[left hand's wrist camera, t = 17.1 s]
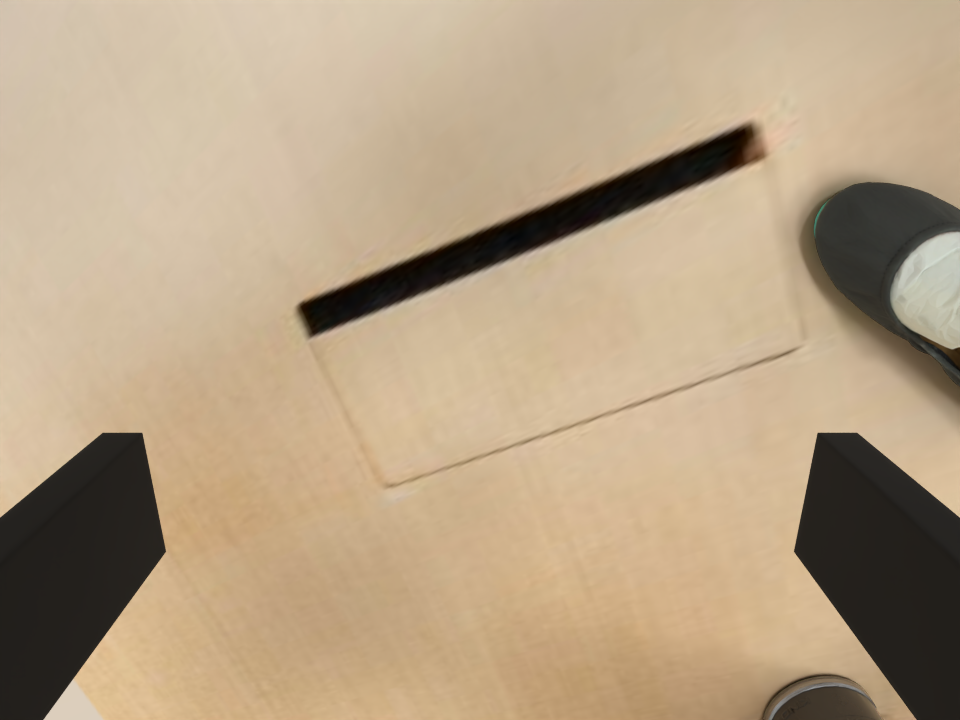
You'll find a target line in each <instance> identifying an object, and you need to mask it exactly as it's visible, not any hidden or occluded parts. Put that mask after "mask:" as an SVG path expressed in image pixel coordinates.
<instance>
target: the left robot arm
mask: <svg viewBox="0 0 960 720" xmlns="http://www.w3.org/2000/svg"><path fill="white" fill-rule="evenodd" d="M165 552H166V549H165V544H164V539H163V534H162V529H161V524H160V519H159V514H158V509H157V504H156V499H155V494H154V489H153V484H152V479H151V474H150V469H149V464H148V459H147V454H146V449H145V444H144V439H143V434H142V433H102V434H101V435H100V436H98V437H97V438H96V439H95V440H94V441H92V442H91V443H90V444H89V445H88V446H86V447H85V448H84V449H83V450H82V451H80V452H79V453H78V454H77V455H76V456H74V457H73V458H72V459H71V460H69V461H68V462H67V463H66V464H65V465H63V466H62V467H61V468H60V469H59V470H57V471H56V472H55V473H54V474H53V475H51V476H50V477H49V478H48V479H46V480H45V481H44V482H43V483H42V484H40V485H39V486H38V487H37V488H36V489H34V490H33V491H32V492H31V493H30V494H28V495H27V496H26V497H25V498H24V499H22V500H21V501H20V502H19V503H17V504H16V505H15V506H14V507H13V508H11V509H10V510H9V511H8V512H7V513H5V514H4V515H3V516H2V517H1V518H0V720H43V719H44V718H45V717H46V715H47V714H48V713H49V711H50V710H51V708H52V707H53V706H54V704H55V703H56V702H57V700H58V699H59V698H60V696H61V695H62V693H63V692H64V691H65V689H66V688H67V687H68V685H69V684H70V682H71V681H72V680H73V678H74V677H75V676H76V674H77V673H78V671H79V670H80V669H81V667H82V666H83V665H84V663H85V662H86V661H87V659H88V658H89V656H90V655H91V654H92V652H93V651H94V650H95V648H96V647H97V645H98V644H99V643H100V641H101V640H102V639H103V637H104V636H105V634H106V633H107V632H108V630H109V629H110V628H111V626H112V625H113V623H114V622H115V621H116V619H117V618H118V617H119V615H120V614H121V613H122V611H123V610H124V608H125V607H126V606H127V604H128V603H129V602H130V600H131V599H132V597H133V596H134V595H135V593H136V592H137V591H138V589H139V588H140V586H141V585H142V584H143V582H144V581H145V580H146V578H147V577H148V576H149V574H150V573H151V571H152V570H153V569H154V567H155V566H156V565H157V563H158V562H159V560H160V559H161V558H162V556H163V555H164V554H165ZM794 552H795V554H796V555H797V556H798V558H799V559H800V560H801V562H802V563H803V565H804V566H805V567H806V569H807V570H808V571H809V573H810V574H811V576H812V577H813V578H814V580H815V581H816V582H817V584H818V585H819V586H820V588H821V589H822V591H823V592H824V593H825V595H826V596H827V597H828V599H829V600H830V602H831V603H832V604H833V606H834V607H835V608H836V610H837V611H838V613H839V614H840V615H841V617H842V618H843V619H844V621H845V622H846V624H847V625H848V626H849V628H850V629H851V630H852V632H853V633H854V634H855V636H856V637H857V639H858V640H859V641H860V643H861V644H862V645H863V647H864V648H865V650H866V651H867V652H868V654H869V655H870V656H871V658H872V659H873V661H874V662H875V663H876V665H877V666H878V667H879V669H880V670H881V671H882V673H883V674H884V676H885V677H886V678H887V680H888V681H889V682H890V684H891V685H892V687H893V688H894V689H895V691H896V692H897V693H898V695H899V696H900V698H901V699H902V700H903V702H904V703H905V704H906V706H907V707H908V709H909V710H910V711H911V713H912V714H913V715H914V717H915V718H916V719H917V720H960V518H959V517H958V516H957V515H956V514H955V513H953V512H952V511H951V510H950V509H949V508H947V507H946V506H945V505H944V504H943V503H941V502H940V501H939V500H938V499H936V498H935V497H934V496H933V495H932V494H930V493H929V492H928V491H927V490H926V489H924V488H923V487H922V486H921V485H920V484H918V483H917V482H916V481H915V480H914V479H912V478H911V477H910V476H909V475H907V474H906V473H905V472H904V471H903V470H901V469H900V468H899V467H898V466H897V465H895V464H894V463H893V462H892V461H891V460H889V459H888V458H887V457H886V456H884V455H883V454H882V453H881V452H880V451H878V450H877V449H876V448H875V447H874V446H872V445H871V444H870V443H869V442H868V441H866V440H865V439H864V438H863V437H862V436H860V435H859V434H858V433H818V434H817V439H816V444H815V449H814V454H813V459H812V464H811V469H810V474H809V479H808V484H807V489H806V494H805V499H804V504H803V509H802V514H801V519H800V524H799V529H798V534H797V539H796V544H795V549H794Z"/></svg>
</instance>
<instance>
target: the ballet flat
mask: <svg viewBox="0 0 960 720" xmlns="http://www.w3.org/2000/svg"><path fill="white" fill-rule="evenodd" d="M814 236H815V241H816V247H817V251H818V254H819V257H820V260H821V262H822V265H823V266H824V268H825V270H826V272H827V273H828V275H829V277H830V278H831V280H832V281H833V283H834V285H835V286H836V287H837V289H838V290H840V291H841V292H842V293H843V294H844V295H845V296H846V297H847V298H848V299H849V300H851V301H852V302H853V303H854V304H855V305H856V306H857V307H858V308H859V309H860V310H862V311H863V312H864V313H865V314H867V315H868V316H870V317H871V318H872V319H873V320H875V321H877V322H878V323H879V324H880V325H882V326H883V327H885V328H886V329H888V330H889V331H891V332H893V333H894V334H896V335H898V336H900V337H902V338H904V339H906V340H908V341H909V343H910V344H911V345H912V346H913V347H914V348H916V349H917V350H919V351H921V352H923V353H927V354H929V355H931V356H932V357H933V358H935V359H936V360H937V361H938V362H939V363H940V364H941V366H942V367H943V369H944V371H945V372H946V374H947V375H948V376H949V377H950V379H951V380H952V381H953V382H955V383H956V384H957V385H958V386H960V210H959V209H958V208H956V207H954V206H953V205H951V204H949V203H947V202H945V201H943V200H941V199H939V198H937V197H935V196H933V195H931V194H929V193H926V192H924V191H921V190H918V189H914V188H911V187H907V186H902V185H896V184H890V183H871V182H867V183H860V184H855V185H852V186H850V187H848V188H845V189H844V190H842V191H840V192H838V193H837V194H835V195H834V196H833V197H832V198H830V199H829V200H828V201H827V202H826V203H825V204H824V205H823V206H822V207H821V209H820V210H819V212H818V214H817V216H816V219H815V224H814Z"/></svg>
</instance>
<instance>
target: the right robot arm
mask: <svg viewBox="0 0 960 720" xmlns="http://www.w3.org/2000/svg"><path fill="white" fill-rule="evenodd" d="M763 720H883V718H882V717H881V715H880V714H879V712H878V711H877V709H876V706H875V704H874V703H873V701H872V700H871V698H870V697H869V695H868V694H867V693H866V691H865V690H864V689H863V688H862V687H861V686H860V685H858V684H857V683H855V682H853V681H851V680H848V679H845V678H842V677H836V676H818V677H812V678H808V679H804V680H801V681H798V682H796V683H794V684H792V685H790V686H788V687H787V688H785V689H784V690H782V691H781V692H780V693H779V694H777V695H776V696H775V697H774V698H773V700H772V701H771V702H770V704H769V705H768V707H767V709H766V711H765V714H764V717H763Z"/></svg>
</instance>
